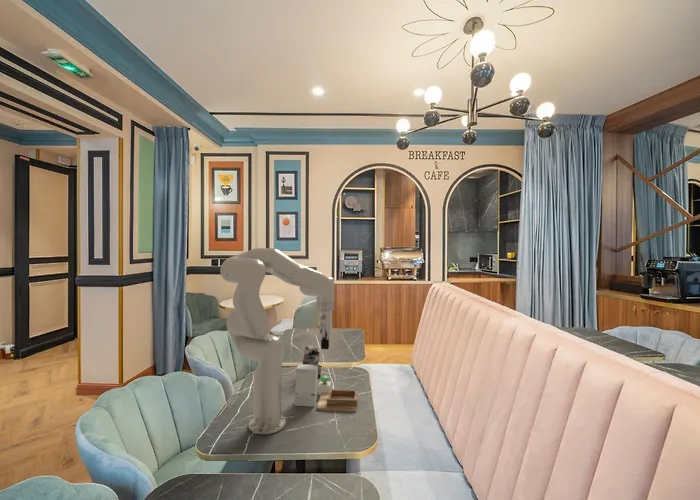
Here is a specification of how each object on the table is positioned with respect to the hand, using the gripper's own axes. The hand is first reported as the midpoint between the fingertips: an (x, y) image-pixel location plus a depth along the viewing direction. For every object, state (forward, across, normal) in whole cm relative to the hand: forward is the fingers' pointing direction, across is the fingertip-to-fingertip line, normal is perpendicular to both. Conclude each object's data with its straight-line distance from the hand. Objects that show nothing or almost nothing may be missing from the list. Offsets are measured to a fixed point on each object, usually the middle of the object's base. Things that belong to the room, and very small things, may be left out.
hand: (325, 348), depth 150 cm
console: (+19, 0, 0) cm, 19 cm away
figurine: (+19, +16, +8) cm, 27 cm away
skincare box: (+19, -11, +6) cm, 23 cm away
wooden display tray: (+19, -10, -6) cm, 22 cm away
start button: (+18, 0, 0) cm, 18 cm away
